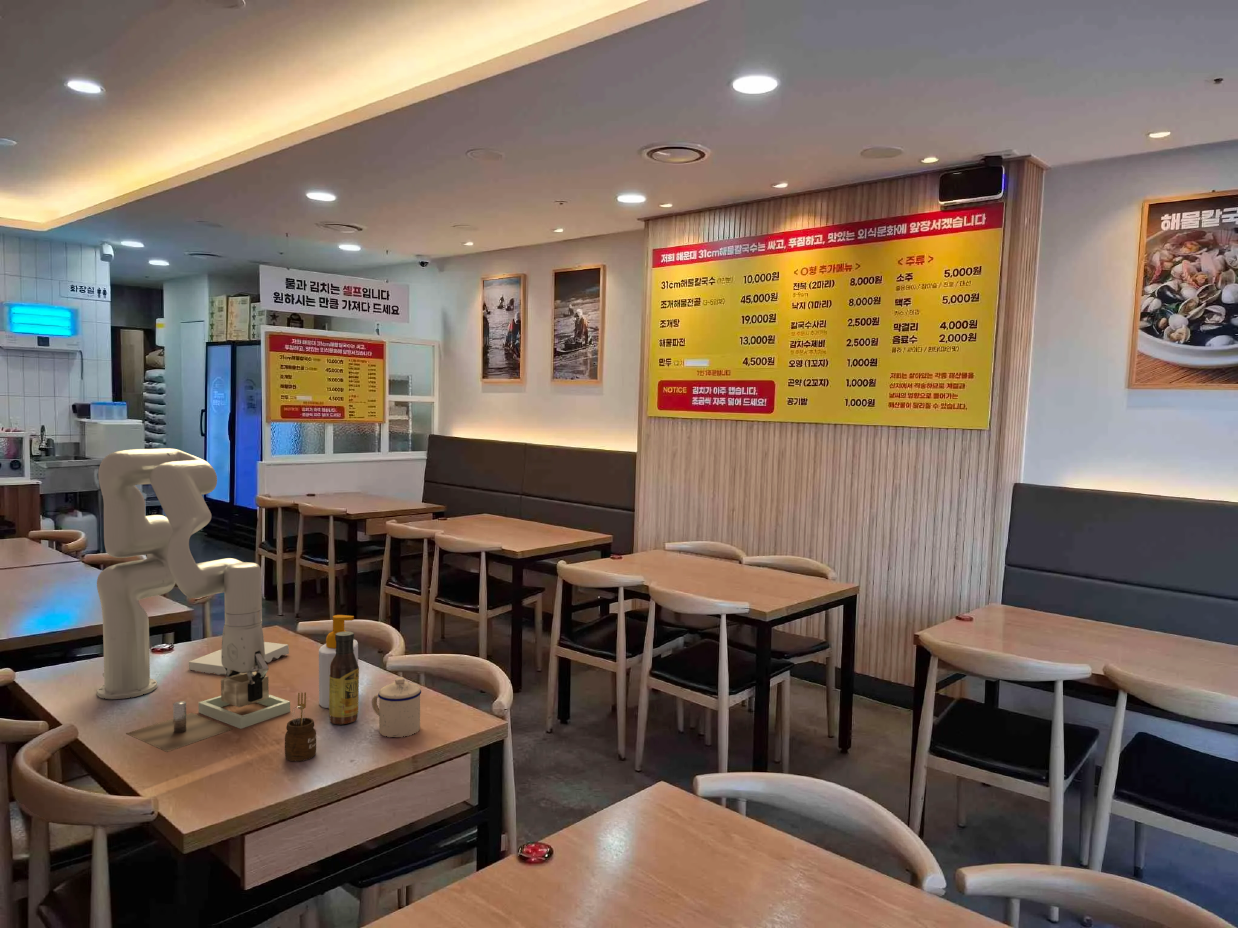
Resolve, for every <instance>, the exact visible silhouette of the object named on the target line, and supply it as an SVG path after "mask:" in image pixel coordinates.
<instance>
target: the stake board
mask: <svg viewBox="0 0 1238 928" xmlns="http://www.w3.org/2000/svg"><path fill="white" fill-rule="evenodd" d="M186 724H187V731H185V732H183V733H174V723H173V718H171V719H167V720H163V721H161V722H158V723H157V722H156V723H154V724H152V725H151V724H150V725H147V726H145V727H141V728H138V729H135V730H131V731H129V732H126V733H125V734H126V735H128V736H131V737H133V738H135V739H138V740H139V741H142V742H144V743H145V744H148V745H150V746H152V747H155V748H157V749H159V750H162V751H164V752H166V753H168V752H171V751H174V750H177V749H180V748H183V747H186V746H189V745H192V744H194V743H198V742H201V741H204V740H206V739H210V738H212V737H215V736H218V735H221V734H223V733H226V732H227V733H228V732H230V731H233V730H234V728H232V727H229V726H227V725H224V724H222V723H219V722H216V721H213V720H211V719H208V718H206V717H203V716H201V715H199V714H196V713H193V712H189V713H186Z"/></svg>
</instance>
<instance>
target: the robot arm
mask: <svg viewBox="0 0 1238 928" xmlns="http://www.w3.org/2000/svg"><path fill="white" fill-rule="evenodd" d="M97 472H98V473H97V474H98V483H99V488H100V490H101V495H102V499H103V500H102V501H103V542H104V548H105V552H106V553H107V555H108V556H110V557H112V558H117V559H122V558H123V559H124V558H126V559H127V558H132V557H138V556H145V555H146V558H144V559H138V560H131V561H126V562H118V563H116V564H112V565H110V566H107V567H106V568H104V569H102V571H101V572H100V573H99V574H98V576H97V580H96V588H97V593H98V597H99V601H100V606H101V615H102V633H103V634H102V636H103V637H102V640H103V641H102V642H103V644H102V645H103V673H102V677H103V679H104V680H103V681H104V684H103V685H100V687H98V688H97V690H96V695H97V696H98V697H99V698H101V697H102V698H101V699H104V698H105V699H107V700H121V699H129V698H130V697H131V698H136V697H140V696H144V695H147V694H149V693H151V692H153V691H154V690H157V688H158V681H157V680H156V679H154V678H151V669H150V667H151V665H150V664H151V662H150V659H151V658H150V625H149V623H150V622H149V621H150V620H149V615H148V614H147V611H146V610H145V608H143V606H142V605H141V604H140V602H139V601H141V600H144V599H146V598H147V599H149V598H152V597H157V596H160V595H164V594H167V593H169V592H170V591H172V590H173V589H174V587H175V585H176V586H177V588H178V589H179V590H180V591H181V593H182V594H183V595H185V597H188V598H191V599H200V598H205V597H208V596H214V595H216V594H223V593H224V595H223V596H224V625H223V629H222V638H221V649H222V650H221V649H220V650H221V662H222V665H223V666H224V667H225V669H226V675H225V677H230V676H233V675H237V674H240V673H247V675H248V679H249V682H250V684H248V701H249V702H252V701H255V700H259V699H261V698H262V697H263V688H262V681H264V677H265V676H267V673H268V671H269V666H268V664H267V663H265V647H264V642H265V639H264V637H265V636H264V631H263V626H262V624H263V606H262V605H263V601H262V600H263V599H262V597H263V595H262V568H261V566H260V565H259V563H256V562H247V561H245V562H244V561H241V560H239V559H237V558H231V557H227V558H220V559H215V560H214V559H213V560H210V561H209V560H208V561H204V562H199V563H198V562H196V561H195V559H194V557H193V555H192V553H191V552H192V551H191V550H190V538H191V536H192V535H194V534H195V533H198V531H200V530H202V529H203V528H204V527H206V526H207V525H208V524H209V523H210V522H211V520H212V513H211V510H210V509H209V507H208V505H207V503H206V501H205V498H204V497H203V495H207V494H210V493H212V492H213V491H214V490H215V489H216V487H217V485H218V475H217V473H216V470H215V469H214V467H213V466H212V465H211V464H210V463H209V462H208V461H206V460H205V459H202V458H200V457H197V456H195V455H193V454H190V453H187V452H185V451H183V450H180V449H178V448H177V449H176V448H172V447H171V448H134V449H133V448H132V449H122V450H117V451H114V452H111V453H109V454H107V455H105V456H104V458H103V459H102V460H101V462H100V464H99V467H98V471H97ZM140 485H141V486H142V485H151V487H152V490H153V491H154V493H155V496H156V498H157V499H158V502H159V504H160V505H161V508H162V510H163V512H164V514H165V516H164V515H162V514H151V515H146V502H145V501H146V500H145V498H144V495H143V494H142V492H141V491H140V489H139V488H138V486H140ZM252 667H254V668H253V669H252ZM252 672H256V675H255V676H254V677H253V673H252ZM143 694H144V695H143ZM105 699H104V700H105Z"/></svg>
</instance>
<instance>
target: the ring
mask: <svg viewBox="0 0 1238 928" xmlns="http://www.w3.org/2000/svg"><path fill="white" fill-rule="evenodd" d="M252 673H253V677H254V676H255V675H256V673H257V672H252ZM248 684H250V682H249V679H248V675H247V673H240V674H237V675H233V676H230V677H227V676H225V677H224V678H221V679H220V696H221V701H223V702H226V703H229V704H230V705H232V706H235V707H237V708H242V707H245V706H249V705H251V704H254V703H256V702H258V701H261V700H264V699H267V698H269V695H270V694H269V690H270V689H269V688H270V687H269V675H266V676H265V677H264V681H262V688H263V697H262V698H261V699H259V700H255V701H252V702H249V701H248Z"/></svg>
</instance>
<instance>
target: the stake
mask: <svg viewBox="0 0 1238 928" xmlns="http://www.w3.org/2000/svg"><path fill="white" fill-rule="evenodd" d="M172 710H173V711H172V715H173V717H172V719H173V723H174V733H183V732H185V731H187V724H186V714H187V702H186V701H183V700H182V701H181V700H180V701H176V702H174V703H172Z"/></svg>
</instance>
